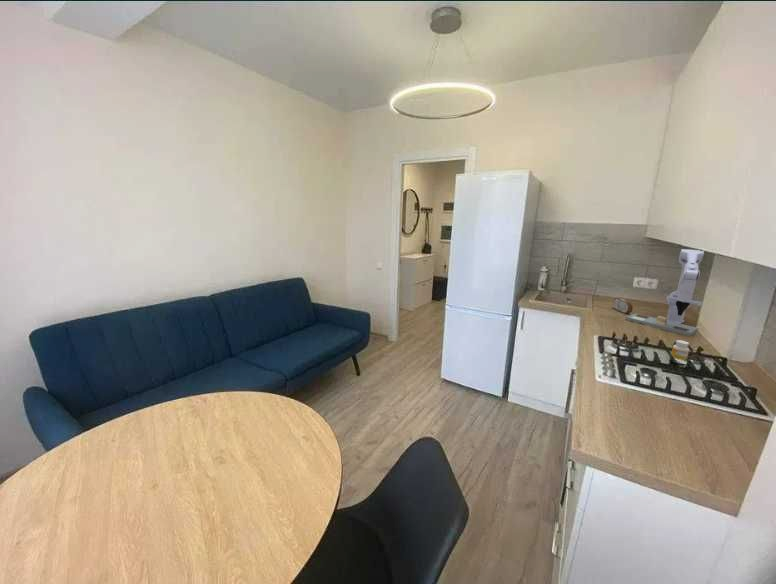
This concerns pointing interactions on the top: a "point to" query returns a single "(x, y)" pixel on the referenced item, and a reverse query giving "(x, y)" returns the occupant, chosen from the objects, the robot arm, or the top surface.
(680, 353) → the supplement bottle
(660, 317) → the block
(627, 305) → the tin
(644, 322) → the board
